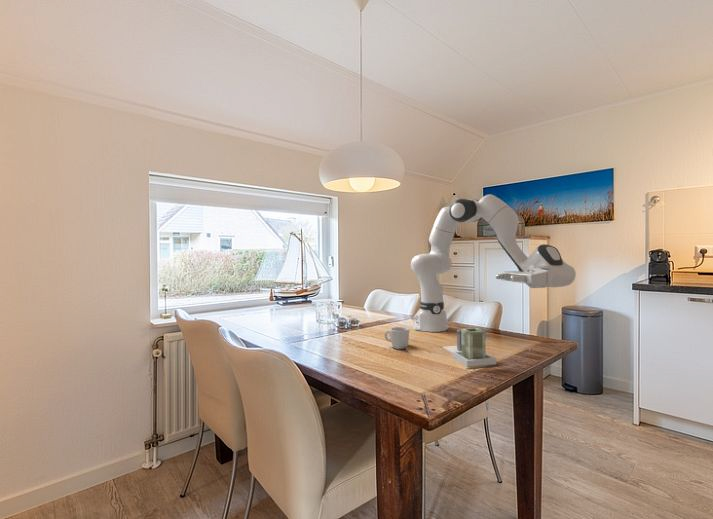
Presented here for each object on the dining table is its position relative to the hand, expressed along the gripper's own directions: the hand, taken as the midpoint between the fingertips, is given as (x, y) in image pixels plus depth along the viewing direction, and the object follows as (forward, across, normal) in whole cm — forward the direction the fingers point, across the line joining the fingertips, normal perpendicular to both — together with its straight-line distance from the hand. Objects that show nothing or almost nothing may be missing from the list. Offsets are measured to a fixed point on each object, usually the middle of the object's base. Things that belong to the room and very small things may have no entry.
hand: (504, 277), depth 137 cm
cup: (+37, -20, +30) cm, 52 cm away
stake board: (+15, -7, +30) cm, 34 cm away
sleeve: (+17, +7, +29) cm, 34 cm away
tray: (+17, +7, +30) cm, 35 cm away
